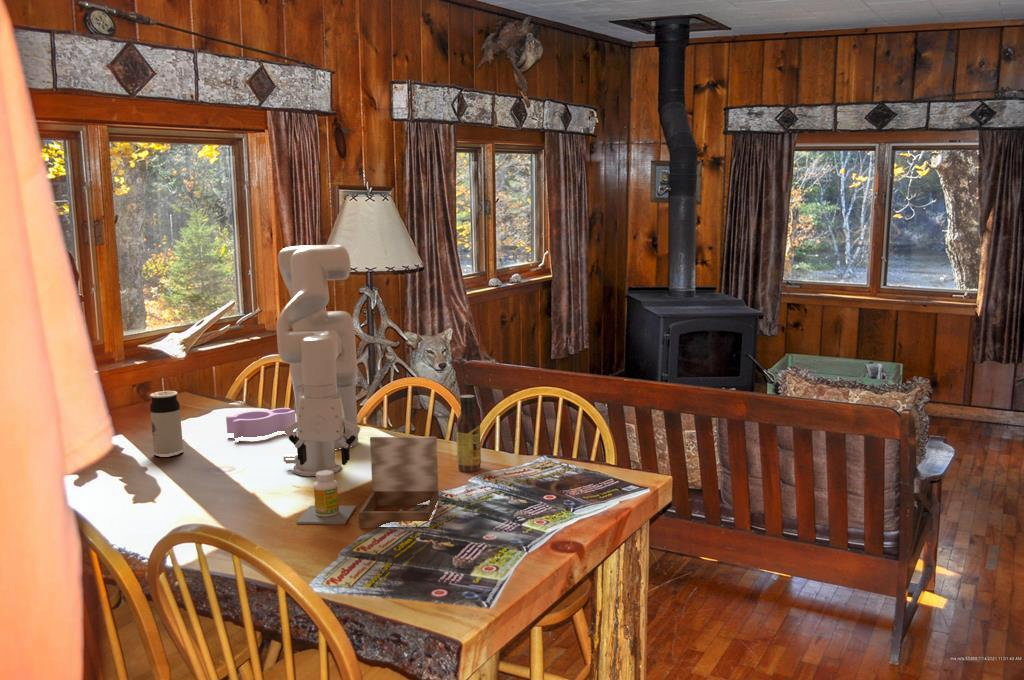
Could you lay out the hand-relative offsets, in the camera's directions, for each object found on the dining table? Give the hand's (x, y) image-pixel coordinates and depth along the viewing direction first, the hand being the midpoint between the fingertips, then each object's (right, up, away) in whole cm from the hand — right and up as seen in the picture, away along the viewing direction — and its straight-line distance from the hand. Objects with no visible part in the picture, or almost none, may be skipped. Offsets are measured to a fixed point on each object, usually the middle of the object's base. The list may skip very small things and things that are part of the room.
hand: (324, 463), depth 215 cm
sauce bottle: (+32, -6, +35) cm, 48 cm away
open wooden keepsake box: (+17, -12, 0) cm, 21 cm away
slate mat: (0, -12, +1) cm, 12 cm away
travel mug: (-56, -5, +56) cm, 80 cm away
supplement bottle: (0, -12, +1) cm, 12 cm away
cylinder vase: (-9, -3, +62) cm, 63 cm away
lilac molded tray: (-34, -2, +76) cm, 83 cm away
